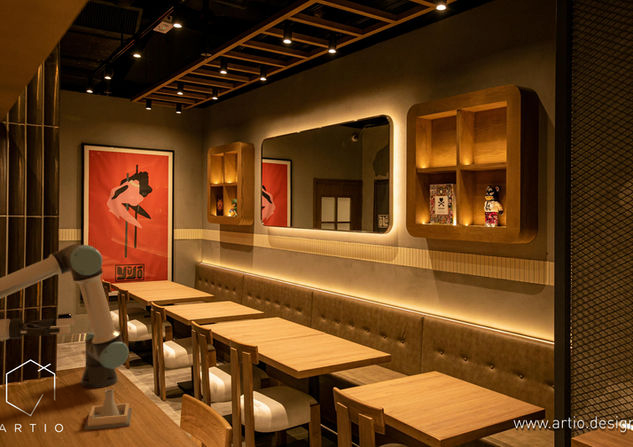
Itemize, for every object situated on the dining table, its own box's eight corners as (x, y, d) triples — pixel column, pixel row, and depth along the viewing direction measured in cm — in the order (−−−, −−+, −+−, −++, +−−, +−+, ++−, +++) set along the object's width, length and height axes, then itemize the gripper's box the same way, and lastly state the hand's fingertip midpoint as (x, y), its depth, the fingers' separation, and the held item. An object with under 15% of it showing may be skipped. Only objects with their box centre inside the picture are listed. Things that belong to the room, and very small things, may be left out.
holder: (89, 414, 199) (89, 405, 199) (131, 410, 203) (131, 401, 203) (84, 430, 185) (84, 420, 184) (129, 425, 189) (129, 416, 189)
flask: (112, 422, 190) (112, 394, 189) (94, 420, 191) (94, 393, 191) (123, 414, 197) (123, 388, 197) (105, 412, 198) (105, 386, 198)
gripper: (18, 331, 208) (76, 327, 215) (1, 347, 185) (67, 342, 191) (18, 312, 208) (76, 309, 215) (1, 326, 184) (66, 322, 191)
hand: (72, 325), depth 203 cm, fingers open, 13 cm apart
